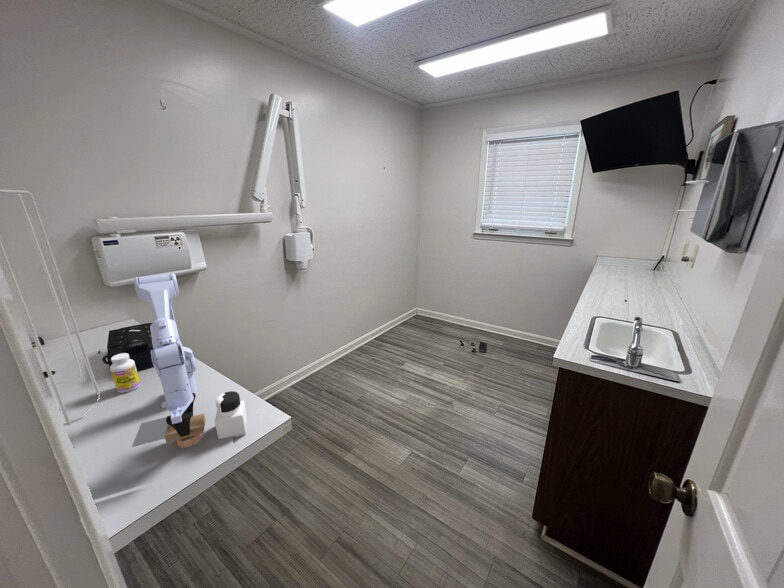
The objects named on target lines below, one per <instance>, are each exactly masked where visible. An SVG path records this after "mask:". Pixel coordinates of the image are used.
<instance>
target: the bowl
mask: <svg viewBox="0 0 784 588" xmlns="http://www.w3.org/2000/svg"><path fill="white" fill-rule="evenodd" d="M202 436H203V434H199V435H195V436H192V437H188V438H184V439H180V440H176V441H175V442H176V444H177V446H178V447H180V448H182V449H185V448H188V447H192V446H194V445H196V444H197V443H198V442H199V441H201V440H202Z"/></svg>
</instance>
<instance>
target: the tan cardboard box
mask: <svg viewBox="0 0 784 588" xmlns="http://www.w3.org/2000/svg"><path fill="white" fill-rule="evenodd" d="M205 425H206V417H205V413H201V414H195V415H193V416H191V419H190V435H187V436H183V437H180V435H179V434H178V433H177V431H176V430H175V429H174V428H173V427H172V426H170V425H168V427H167V430H166V433H165V438H164V440H165V442H166V443H167V444H168V443H172V442H177V441H176V440H180V439H187V438H191V437H192V436H195V435H199V434H202V435H203V434H204V431H205Z"/></svg>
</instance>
